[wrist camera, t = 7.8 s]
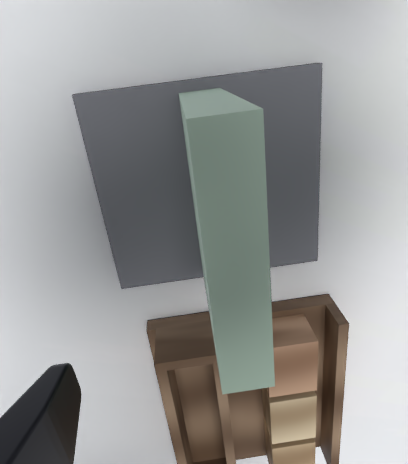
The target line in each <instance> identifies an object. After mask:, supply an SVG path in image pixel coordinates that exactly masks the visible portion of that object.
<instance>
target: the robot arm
mask: <svg viewBox="0 0 408 464" xmlns="http://www.w3.org/2000/svg"><path fill="white" fill-rule="evenodd" d="M80 403H81V389H80V386H79V383H78V380H77V378H76V375H75V372H74V370H73V367H72V365H71V364H69V363H64V364H58V365H53V366H51V367H50V368H48V369H47V370H46V371H45V372H44V374H43V375H42V376H41V377H40V378H39V379H38V380H37V381H36V382H35V383H34V384H33V385H32V386H31V387H30V388H29V389H28V390H27V391H26V392H25V393H24V394H23V395H22V396H21V397H20V398H19V399H18V400H17V401H16V402H15V403H14V404H13V405H12V406H11V407H10V408H9V409H8V410H7V411H6V412H5V414H4V415H3V416H2V417H1V418H0V464H73V461H74V454H75V445H76V437H77V429H78V420H79V412H80Z"/></svg>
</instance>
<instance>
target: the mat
mask: <svg viewBox="0 0 408 464" xmlns="http://www.w3.org/2000/svg"><path fill="white" fill-rule="evenodd" d="M214 88H221V89H223V90H225V91H228V92H230V93H232V94H234V95H236V96H238V97H240V98H242V99H244V100H246V101H248V102H250V103H252V104H255V105H257V106H259V107H261V108H263V115H264V138H265V162H266V185H267V209H268V233H269V256H270V267H277V266H283V265H290V264H297V263H304V262H311V261H317V259H318V218H319V176H320V135H321V93H322V63H313V64H306V65H298V66H290V67H282V68H274V69H267V70H259V71H251V72H243V73H235V74H228V75H220V76H212V77H204V78H196V79H189V80H181V81H173V82H165V83H158V84H150V85H142V86H134V87H126V88H119V89H111V90H103V91H95V92H87V93H80V94H73V95H72V97H73V101H74V105H75V108H76V112H77V116H78V120H79V124H80V128H81V132H82V136H83V140H84V144H85V148H86V152H87V155H88V159H89V163H90V167H91V171H92V175H93V179H94V183H95V187H96V191H97V195H98V199H99V202H100V206H101V210H102V214H103V218H104V222H105V226H106V230H107V234H108V238H109V242H110V246H111V249H112V253H113V257H114V261H115V265H116V269H117V273H118V277H119V281H120V285H121V289H124V288H131V287H138V286H145V285H152V284H159V283H165V282H172V281H179V280H186V279H193V278H200V277H204V275H203V269H202V261H201V254H200V247H199V239H198V232H197V225H196V217H195V210H194V202H193V195H192V188H191V180H190V173H189V166H188V158H187V151H186V144H185V136H184V129H183V122H182V114H181V107H180V100H179V93H183V92H191V91H199V90H206V89H214Z"/></svg>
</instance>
